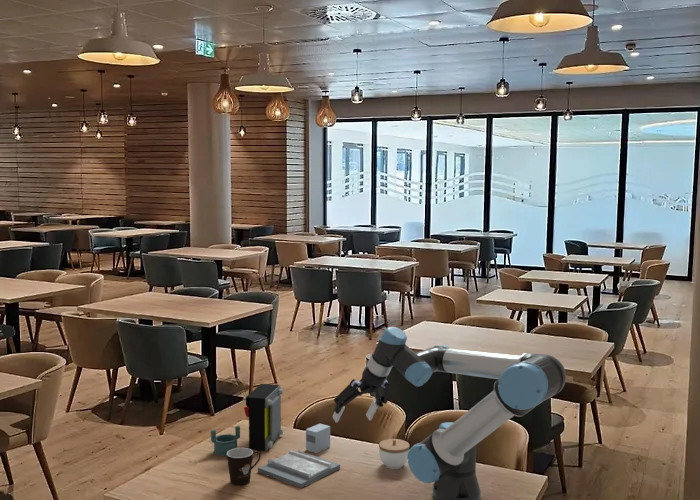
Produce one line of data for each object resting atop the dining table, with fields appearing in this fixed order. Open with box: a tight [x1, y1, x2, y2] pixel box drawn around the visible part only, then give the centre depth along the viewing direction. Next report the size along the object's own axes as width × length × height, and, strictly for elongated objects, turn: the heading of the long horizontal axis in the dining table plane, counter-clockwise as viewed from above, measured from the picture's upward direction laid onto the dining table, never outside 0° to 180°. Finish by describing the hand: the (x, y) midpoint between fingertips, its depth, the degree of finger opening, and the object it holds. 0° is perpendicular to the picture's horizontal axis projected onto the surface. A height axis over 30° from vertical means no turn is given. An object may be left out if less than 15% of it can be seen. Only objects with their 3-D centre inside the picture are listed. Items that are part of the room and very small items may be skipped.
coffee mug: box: [226, 447, 262, 487], centre depth 229 cm, size 12×9×10 cm
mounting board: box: [257, 450, 341, 489], centre depth 239 cm, size 20×20×2 cm
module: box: [305, 423, 331, 454], centre depth 258 cm, size 5×8×8 cm, turn 142°
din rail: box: [267, 449, 331, 479], centre depth 239 cm, size 19×12×2 cm, turn 51°
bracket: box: [210, 425, 241, 457], centre depth 255 cm, size 9×9×9 cm
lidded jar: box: [378, 438, 411, 470], centre depth 243 cm, size 11×11×9 cm
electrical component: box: [243, 383, 284, 452], centre depth 264 cm, size 18×10×20 cm, turn 168°
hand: (351, 418), depth 229 cm, fingers open, 13 cm apart
